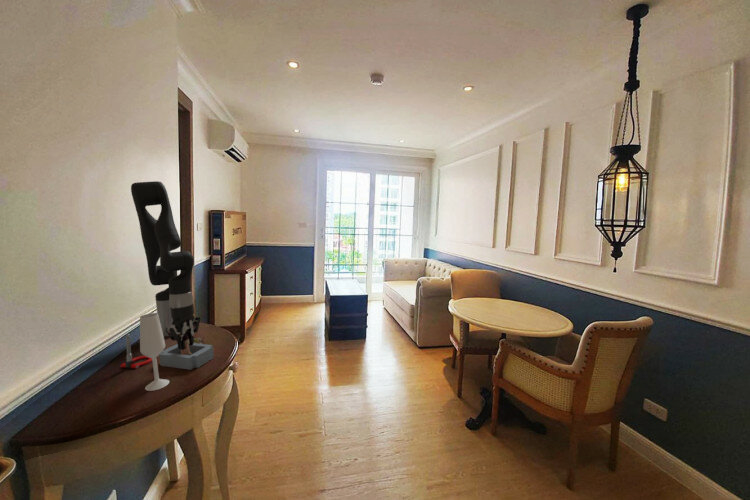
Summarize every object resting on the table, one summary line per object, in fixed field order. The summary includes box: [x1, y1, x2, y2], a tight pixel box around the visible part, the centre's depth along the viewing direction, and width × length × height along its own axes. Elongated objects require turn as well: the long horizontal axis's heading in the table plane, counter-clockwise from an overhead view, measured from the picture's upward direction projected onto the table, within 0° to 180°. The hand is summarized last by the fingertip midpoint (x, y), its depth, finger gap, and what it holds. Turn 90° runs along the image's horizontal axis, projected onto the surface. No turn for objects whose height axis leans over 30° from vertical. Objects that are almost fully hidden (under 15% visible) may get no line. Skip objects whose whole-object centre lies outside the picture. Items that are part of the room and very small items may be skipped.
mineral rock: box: [194, 337, 205, 344], centre depth 129 cm, size 11×4×8 cm
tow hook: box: [120, 333, 153, 369], centre depth 116 cm, size 8×13×9 cm
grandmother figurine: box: [180, 326, 192, 355], centre depth 116 cm, size 8×4×13 cm, turn 55°
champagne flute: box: [139, 312, 170, 392], centre depth 99 cm, size 7×7×24 cm
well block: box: [158, 343, 215, 371], centre depth 117 cm, size 11×17×4 cm, turn 75°
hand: (186, 346), depth 117 cm, fingers closed on grandmother figurine, 3 cm apart
